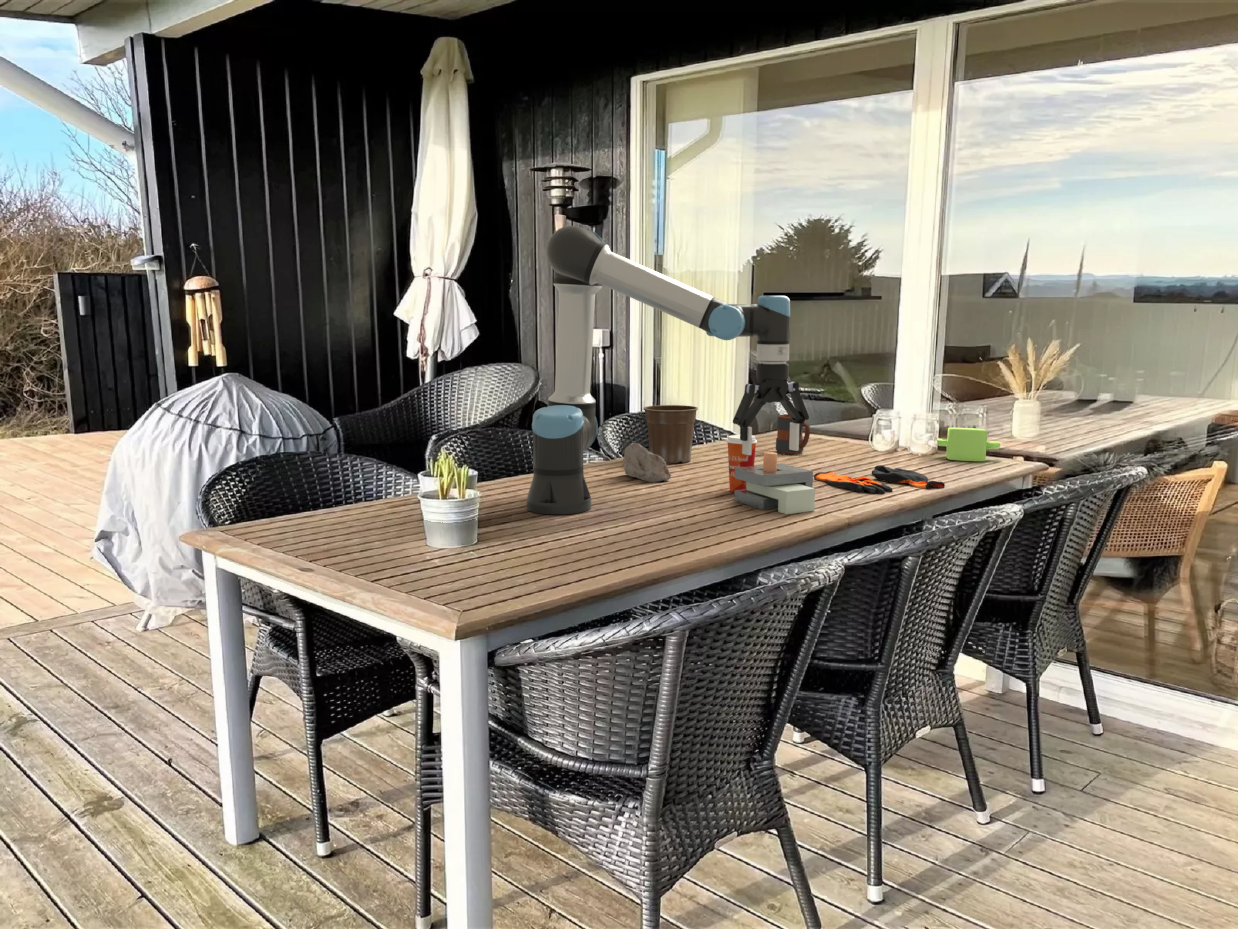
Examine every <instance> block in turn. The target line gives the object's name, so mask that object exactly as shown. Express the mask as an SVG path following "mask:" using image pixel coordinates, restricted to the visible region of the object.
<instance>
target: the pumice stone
mask: <svg viewBox="0 0 1238 929" xmlns="http://www.w3.org/2000/svg"><path fill="white" fill-rule="evenodd" d="M622 466H623V469H624V473H625V475H627V476H629V477H631V478H637V479H639V480H642V481H646V482H650V483H658V482H663V481H665V480H666V481H667V480H670V479H671V478H672V477H671V476H672V473H671V472H670V470H669V467H668V465H667V464H666V462H665V461H664V459H662V457H660V456H659V455H655V454H653V453H651V452H650V450H648V449H647V448H646V447H644V446H643V445H641V444H640V443H636V442H632V443H630V444H628V445H627V446H626V448H625V449H624V453H623V459H622Z"/></svg>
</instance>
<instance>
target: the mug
mask: <svg viewBox="0 0 1238 929" xmlns="http://www.w3.org/2000/svg"><path fill="white" fill-rule="evenodd" d="M792 422H793V420H792V419H791V417H790V416H789V415H788V413H787V414H783V413H782V414H779V415H778V416H777V422H776V423H777V424H776V429H777V434H776V435H777V436H776V440H775V451H776V453H777V454H781V455H793V456H794V455H801V454H803V451H804V448H805V447H806V446H807V444H808V443H809V440H810V435H811V426H810V425H809V423H807V422H806V421H805V422H804V423H803V424H802V426H801V436H799V451H794V450H790V449H789V439H790V423H792ZM793 423H794V422H793ZM804 428H805V429H804ZM803 429H804V430H805V431H804V433H803ZM803 434H804V437H803Z"/></svg>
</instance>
